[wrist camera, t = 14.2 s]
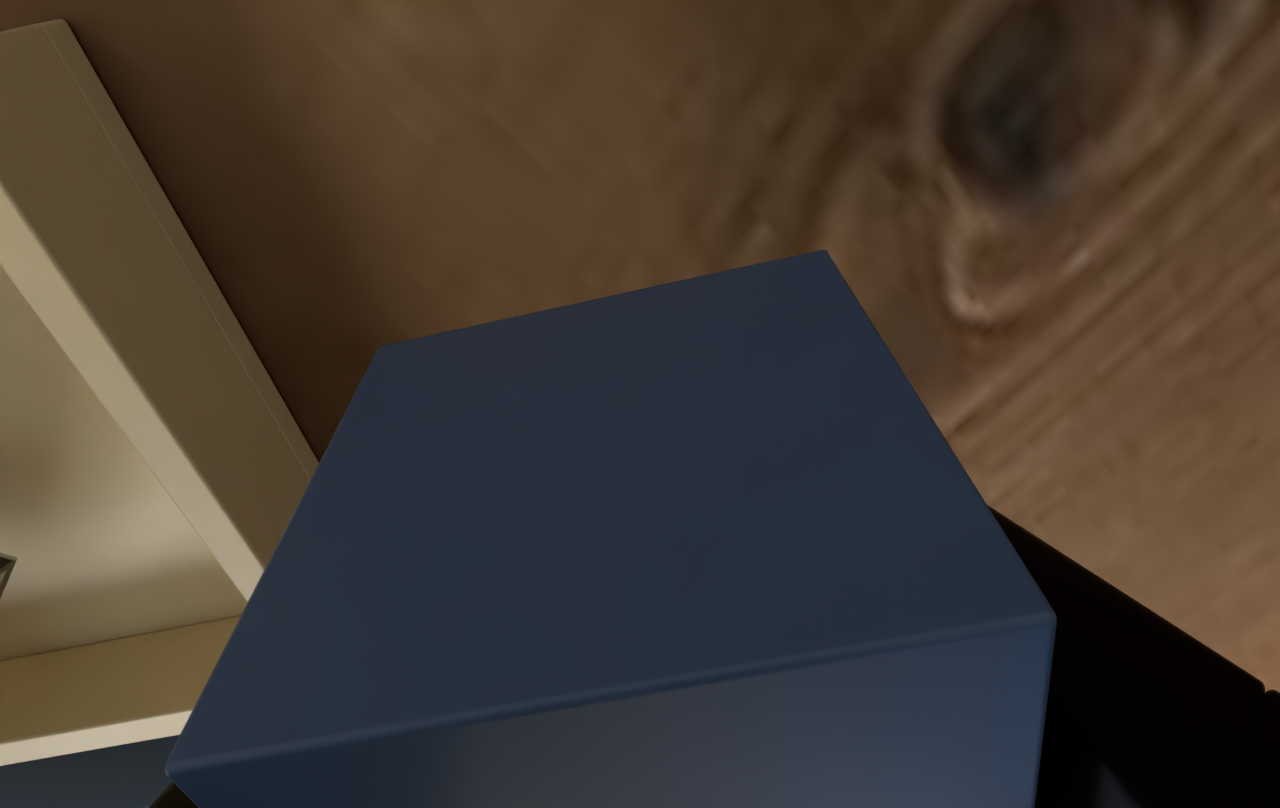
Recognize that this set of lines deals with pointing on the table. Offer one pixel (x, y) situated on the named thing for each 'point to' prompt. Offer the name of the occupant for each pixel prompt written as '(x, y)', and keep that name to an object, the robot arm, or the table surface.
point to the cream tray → (117, 427)
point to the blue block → (636, 578)
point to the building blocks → (5, 569)
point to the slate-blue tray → (90, 778)
